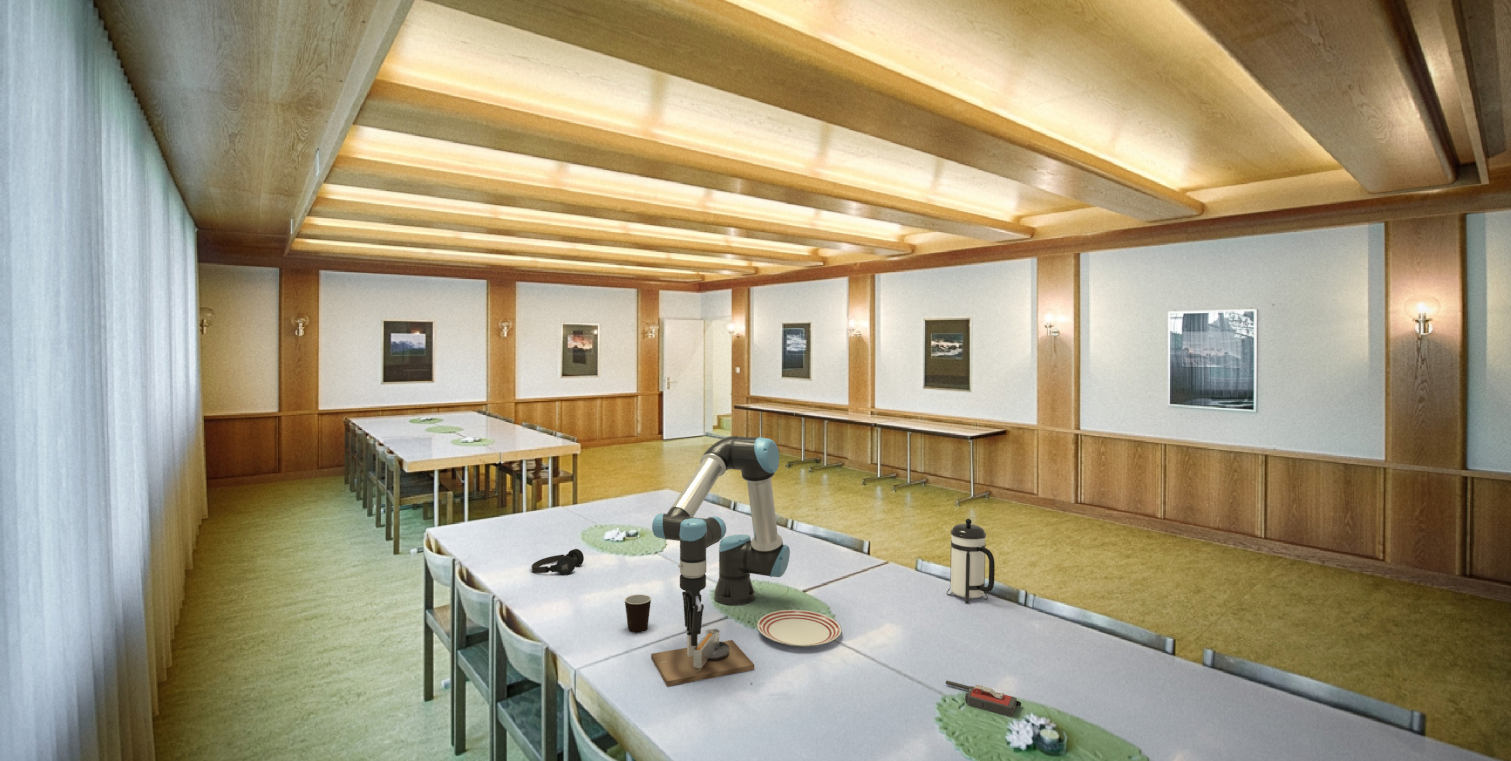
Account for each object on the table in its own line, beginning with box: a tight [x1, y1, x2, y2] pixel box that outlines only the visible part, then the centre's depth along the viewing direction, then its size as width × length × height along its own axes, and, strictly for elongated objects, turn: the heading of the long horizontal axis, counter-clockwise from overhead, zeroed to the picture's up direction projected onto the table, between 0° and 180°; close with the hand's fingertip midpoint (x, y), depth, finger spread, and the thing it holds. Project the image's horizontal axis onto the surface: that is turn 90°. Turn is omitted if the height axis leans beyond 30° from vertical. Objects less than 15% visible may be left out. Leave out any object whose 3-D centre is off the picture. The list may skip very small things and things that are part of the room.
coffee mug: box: [624, 594, 652, 634], centre depth 220 cm, size 12×9×10 cm
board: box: [650, 639, 755, 687], centre depth 194 cm, size 26×18×2 cm
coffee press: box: [946, 518, 996, 604], centre depth 249 cm, size 17×16×30 cm
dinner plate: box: [756, 609, 842, 648], centre depth 216 cm, size 28×27×3 cm
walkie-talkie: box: [945, 680, 1022, 718], centre depth 175 cm, size 9×4×20 cm
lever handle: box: [693, 628, 729, 668], centre depth 194 cm, size 18×10×7 cm, turn 165°
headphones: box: [531, 548, 585, 576], centre depth 279 cm, size 17×8×20 cm
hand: (692, 654), depth 190 cm, fingers closed
